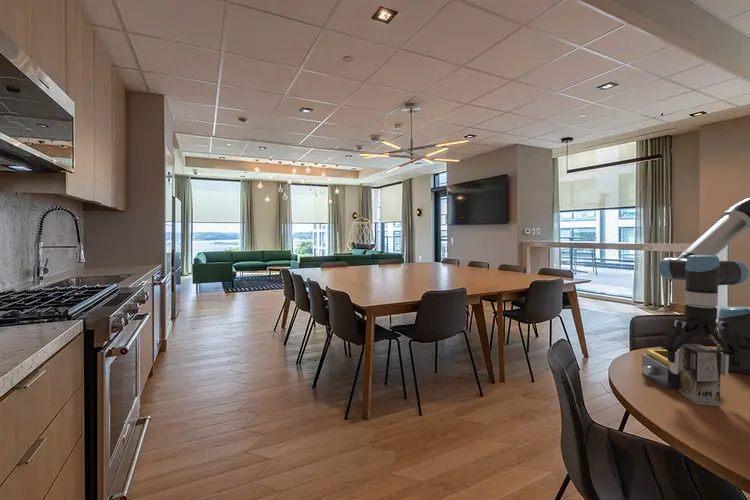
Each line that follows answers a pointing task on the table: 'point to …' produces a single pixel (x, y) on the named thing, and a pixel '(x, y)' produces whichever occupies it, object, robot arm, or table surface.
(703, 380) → the coffee box
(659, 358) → the grey yellow box
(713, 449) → the table surface
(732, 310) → the robot arm
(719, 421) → the table surface
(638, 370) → the table surface
